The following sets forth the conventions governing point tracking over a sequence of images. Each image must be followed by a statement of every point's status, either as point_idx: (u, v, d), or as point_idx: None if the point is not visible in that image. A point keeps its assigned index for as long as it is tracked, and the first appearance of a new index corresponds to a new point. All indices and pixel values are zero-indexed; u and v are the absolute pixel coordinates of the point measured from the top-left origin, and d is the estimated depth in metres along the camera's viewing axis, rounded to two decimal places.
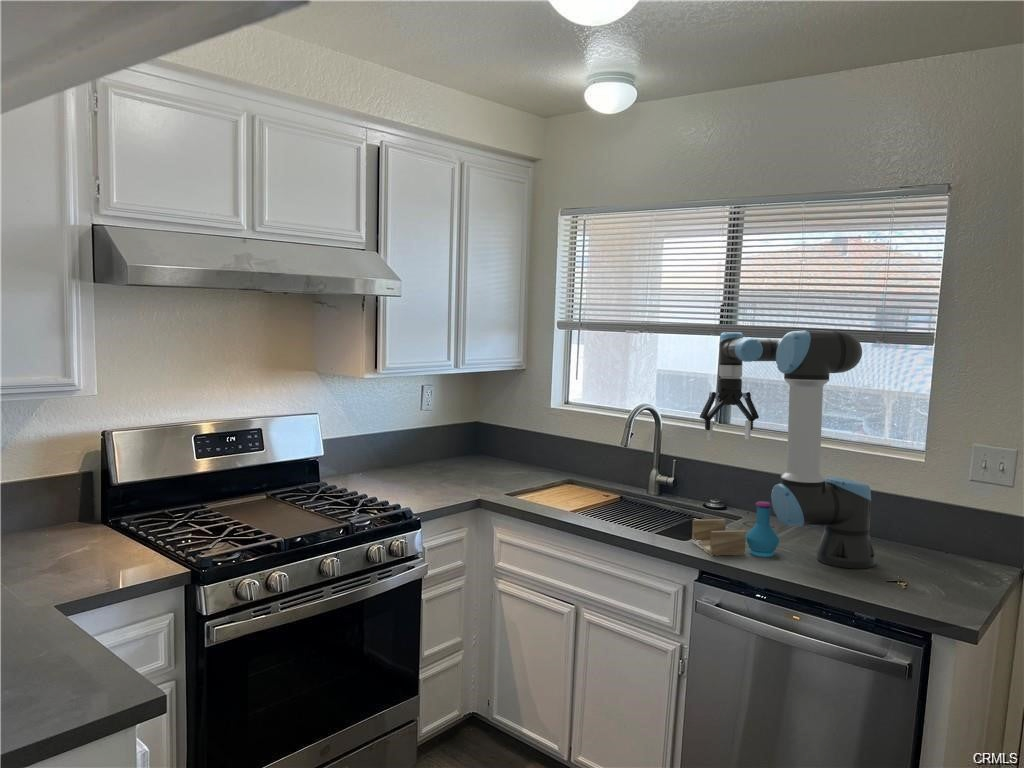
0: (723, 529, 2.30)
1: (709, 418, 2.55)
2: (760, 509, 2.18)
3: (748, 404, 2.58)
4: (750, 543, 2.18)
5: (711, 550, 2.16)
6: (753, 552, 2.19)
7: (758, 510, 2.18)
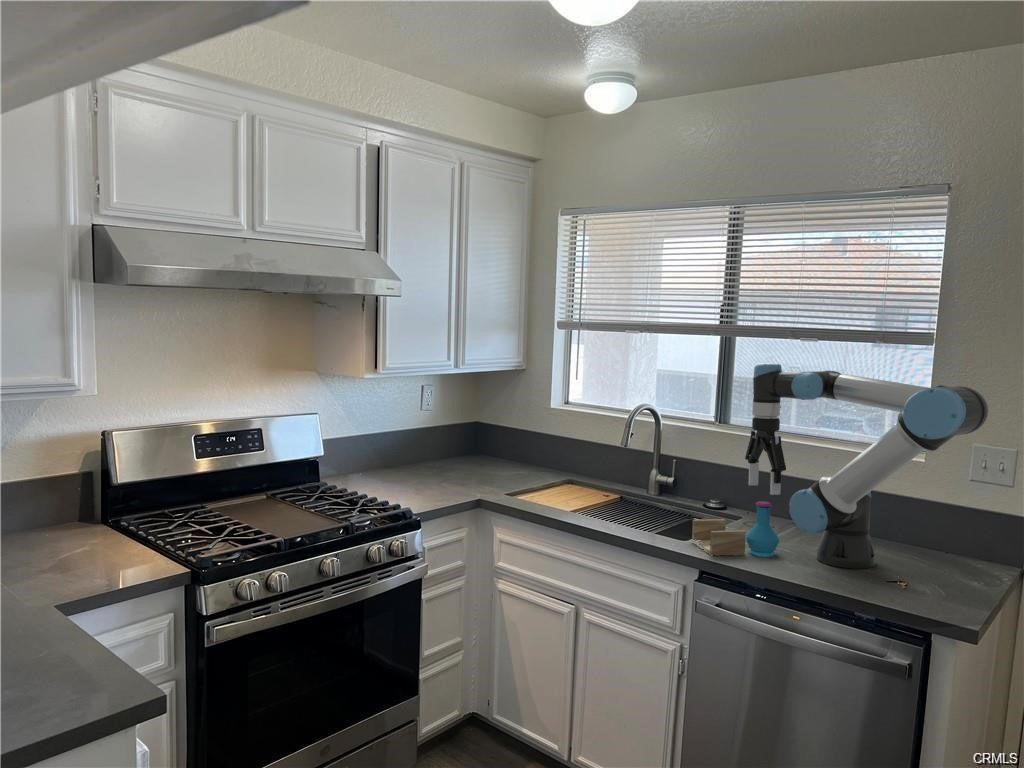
0: (723, 529, 2.30)
1: (748, 460, 2.26)
2: (760, 509, 2.18)
3: None
4: (750, 543, 2.18)
5: (711, 550, 2.16)
6: (753, 552, 2.19)
7: (758, 510, 2.18)
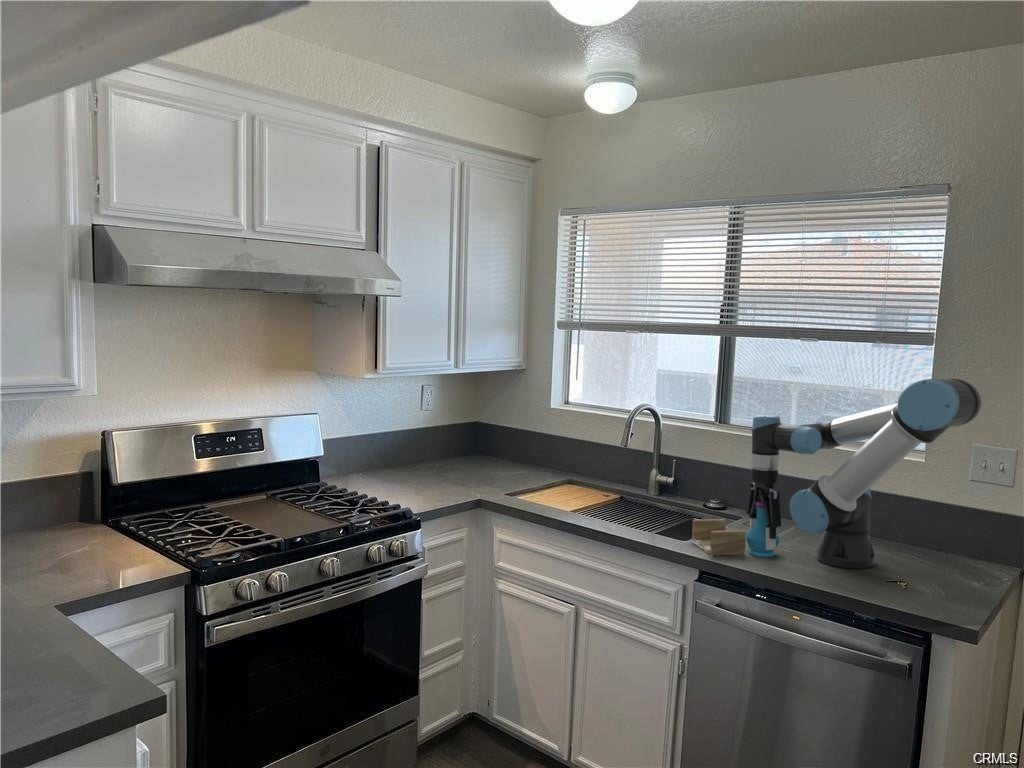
0: (723, 529, 2.30)
1: (749, 514, 2.25)
2: (760, 509, 2.18)
3: None
4: (750, 543, 2.18)
5: (711, 550, 2.16)
6: (753, 552, 2.19)
7: (758, 510, 2.18)
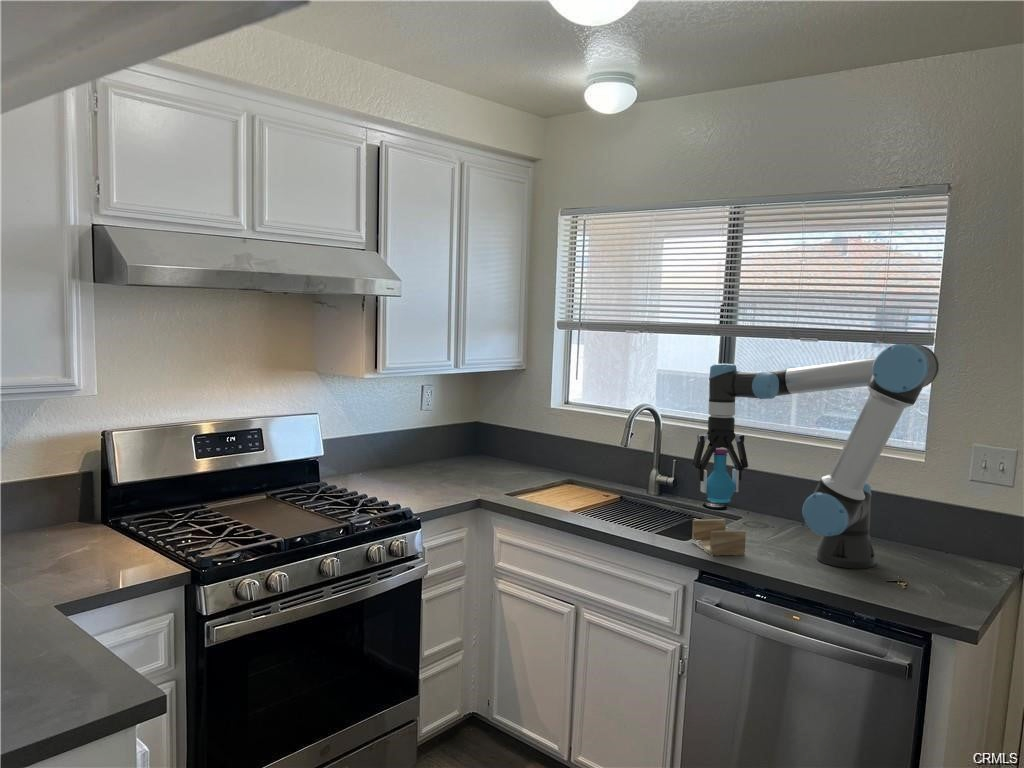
0: (723, 529, 2.30)
1: (702, 467, 2.21)
2: (725, 456, 2.21)
3: (739, 449, 2.23)
4: (728, 491, 2.19)
5: (711, 550, 2.16)
6: (725, 500, 2.20)
7: (723, 458, 2.21)
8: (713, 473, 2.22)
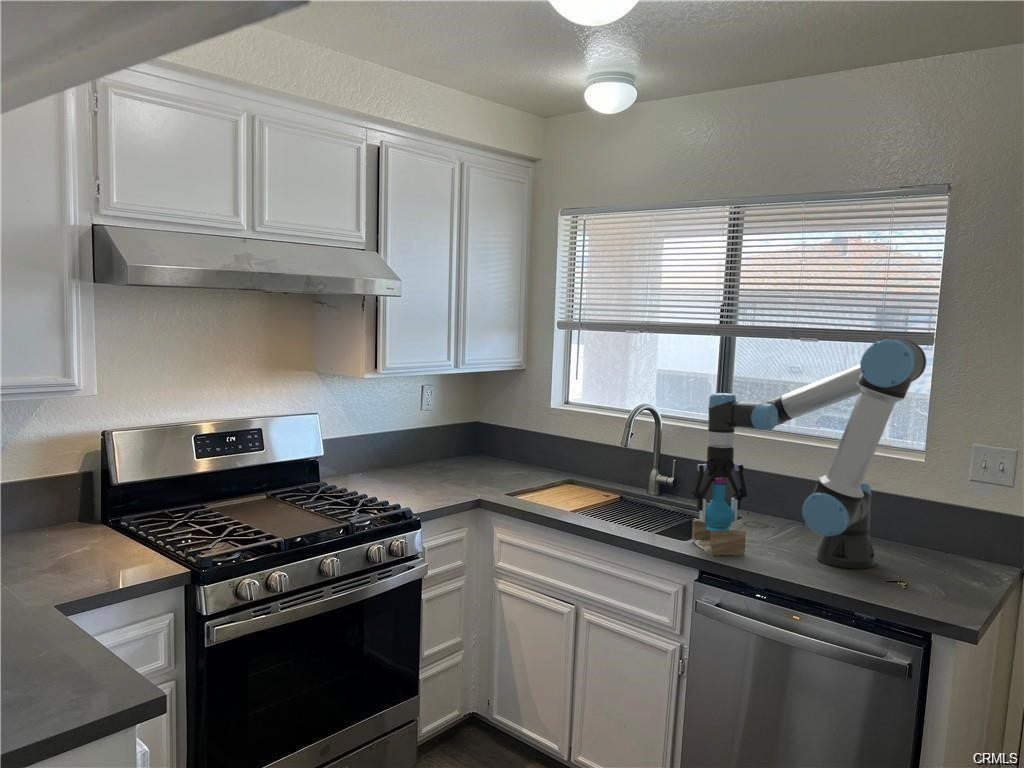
0: None
1: (701, 497, 2.21)
2: (724, 486, 2.22)
3: (738, 478, 2.24)
4: (727, 521, 2.20)
5: (711, 550, 2.16)
6: (724, 529, 2.21)
7: (722, 487, 2.21)
8: (712, 502, 2.23)
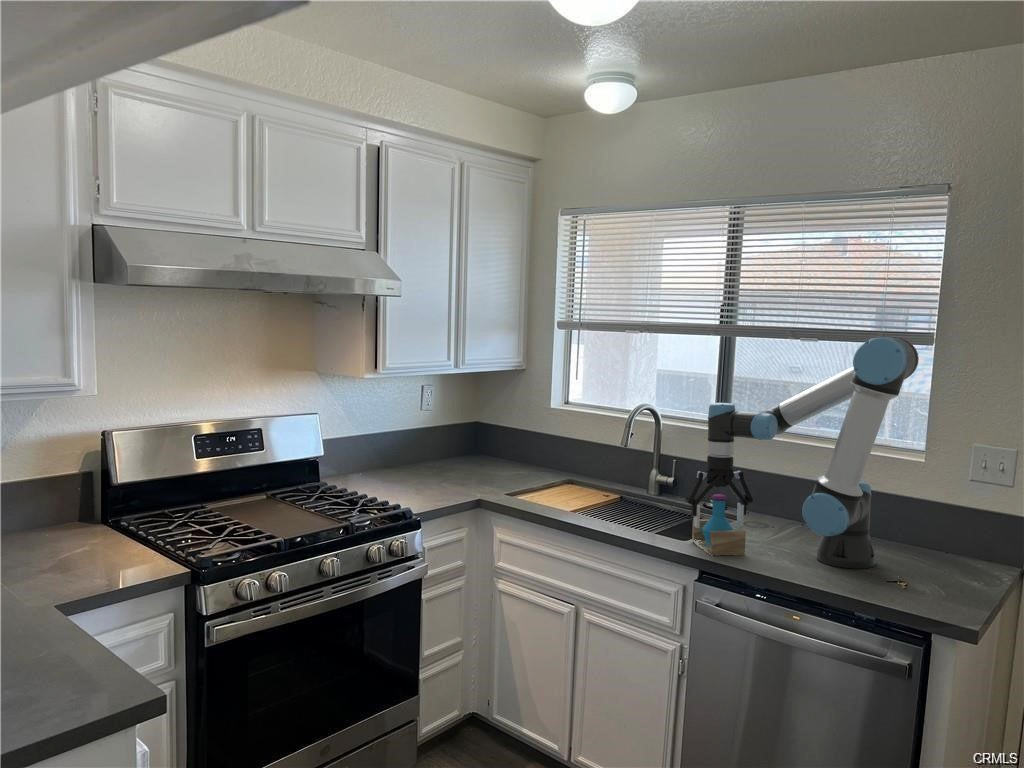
0: None
1: (696, 502, 2.21)
2: (724, 502, 2.22)
3: (741, 485, 2.24)
4: None
5: (711, 550, 2.16)
6: None
7: (722, 504, 2.22)
8: (712, 519, 2.23)
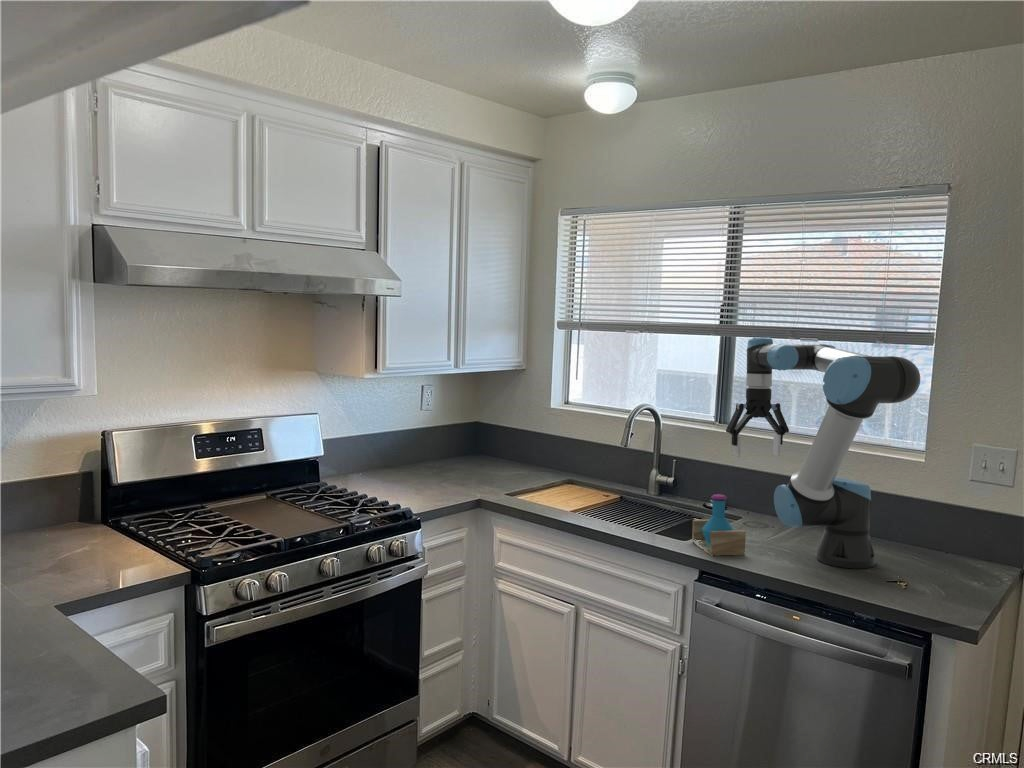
0: None
1: (737, 432, 2.31)
2: (724, 502, 2.22)
3: (777, 416, 2.35)
4: None
5: (711, 550, 2.16)
6: None
7: (722, 504, 2.22)
8: (712, 519, 2.23)
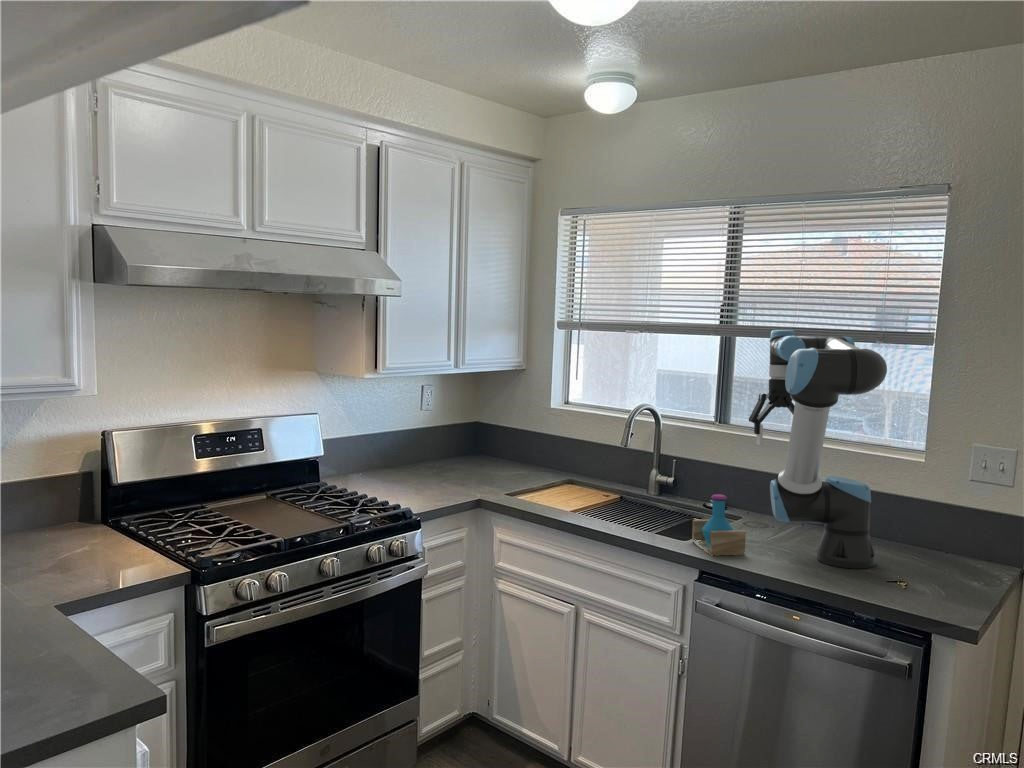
0: None
1: (759, 421, 2.39)
2: (724, 502, 2.22)
3: None
4: None
5: (711, 550, 2.16)
6: None
7: (722, 504, 2.22)
8: (712, 519, 2.23)
